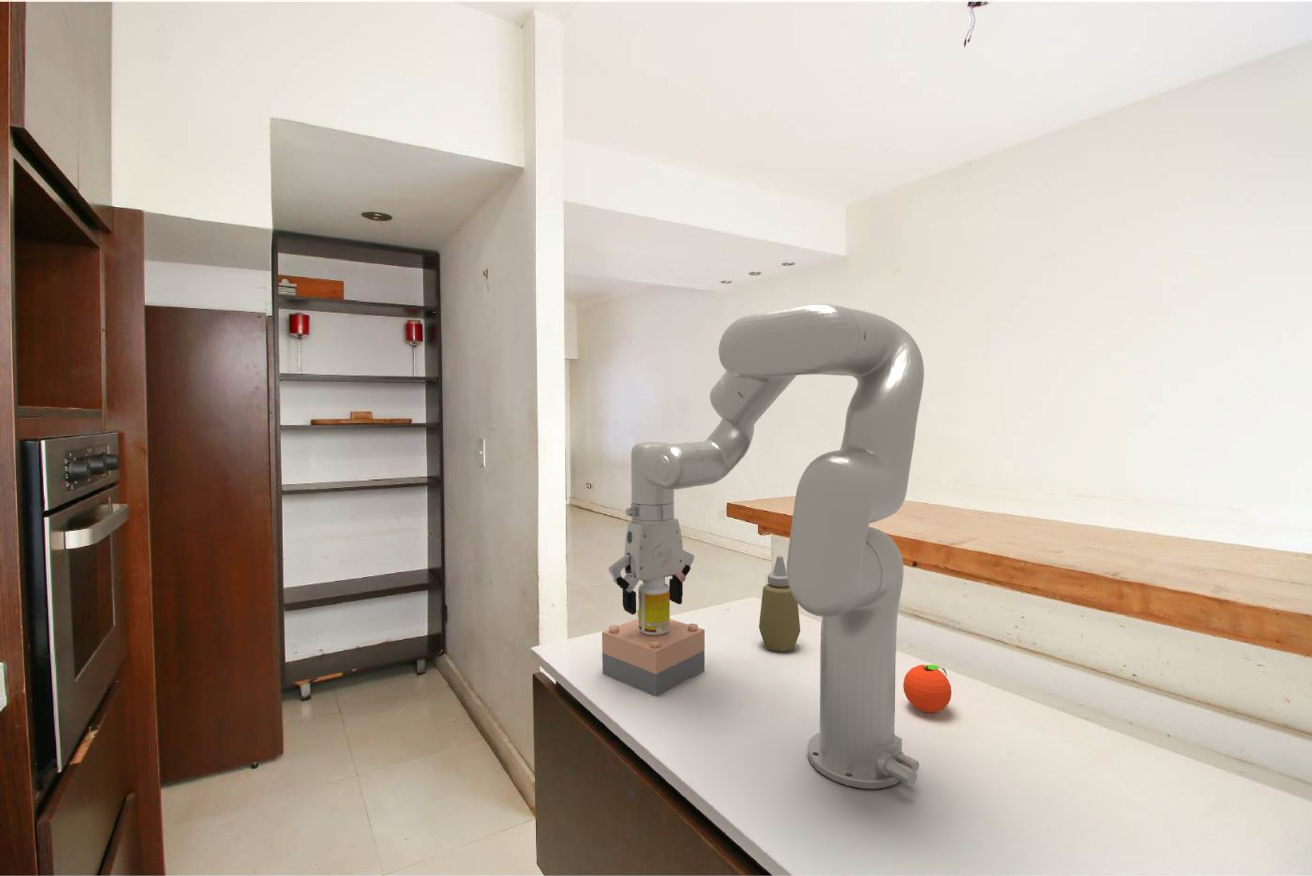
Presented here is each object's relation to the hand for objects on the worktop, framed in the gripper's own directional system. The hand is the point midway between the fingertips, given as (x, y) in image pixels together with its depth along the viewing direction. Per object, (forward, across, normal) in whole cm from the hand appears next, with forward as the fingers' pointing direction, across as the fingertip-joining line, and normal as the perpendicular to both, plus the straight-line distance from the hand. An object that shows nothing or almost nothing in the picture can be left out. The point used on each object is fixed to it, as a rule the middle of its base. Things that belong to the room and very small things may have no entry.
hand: (653, 607), depth 109 cm
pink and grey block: (+12, 0, 0) cm, 12 cm away
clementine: (+12, +29, -35) cm, 47 cm away
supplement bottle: (+4, 0, 0) cm, 5 cm away
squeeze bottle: (+12, +27, -4) cm, 30 cm away
